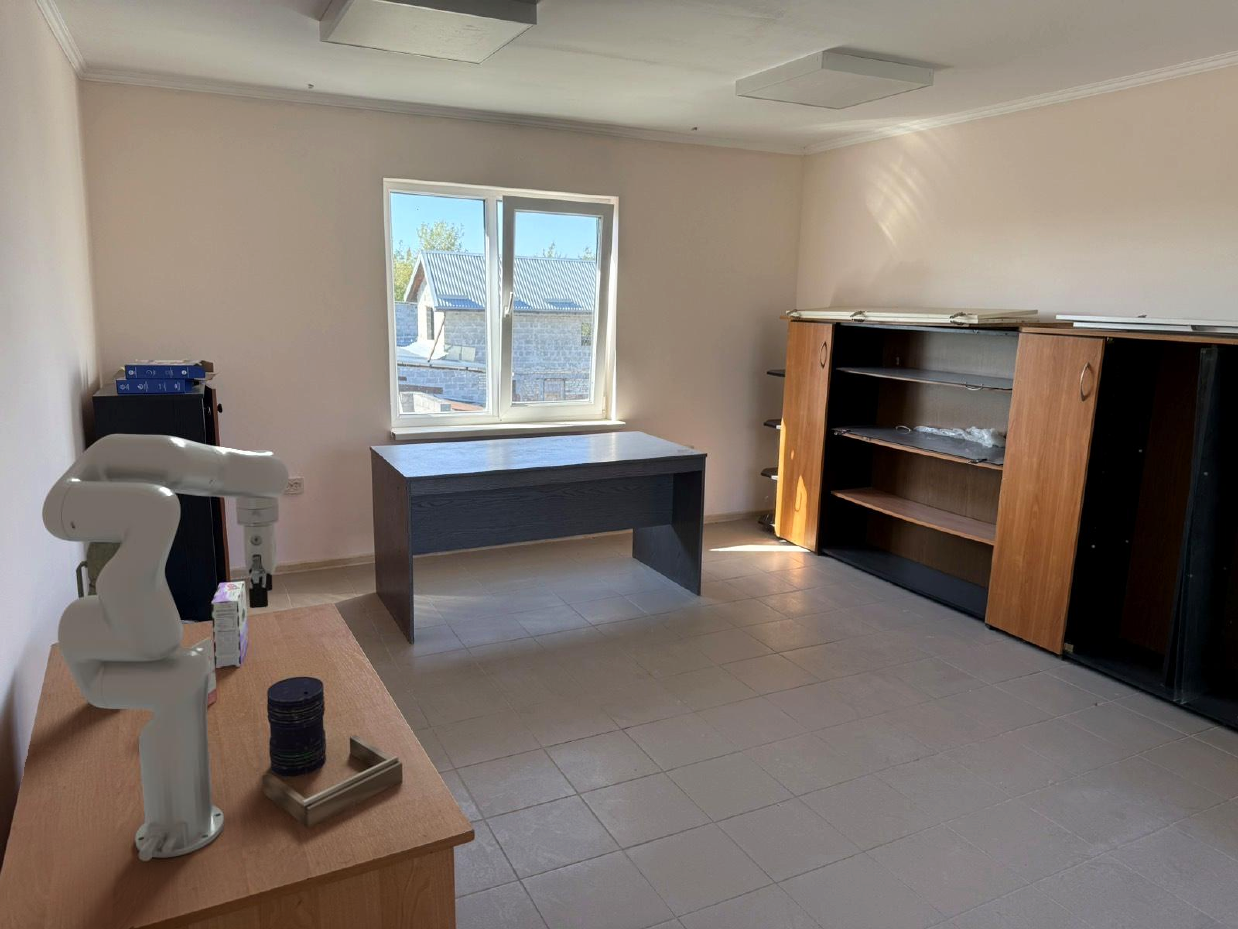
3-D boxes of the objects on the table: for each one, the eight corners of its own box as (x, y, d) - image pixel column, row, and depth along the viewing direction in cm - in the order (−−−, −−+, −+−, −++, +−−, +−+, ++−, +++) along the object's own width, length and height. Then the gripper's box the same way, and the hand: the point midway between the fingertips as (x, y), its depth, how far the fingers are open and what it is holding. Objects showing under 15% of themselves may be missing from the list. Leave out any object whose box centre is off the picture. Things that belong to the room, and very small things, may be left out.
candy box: (223, 645, 202) (219, 581, 199) (249, 643, 204) (245, 580, 200) (214, 669, 189) (209, 601, 186) (242, 666, 191) (238, 599, 188)
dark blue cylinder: (258, 766, 151) (254, 691, 148) (302, 743, 159) (299, 671, 156) (294, 784, 146) (290, 706, 143) (338, 759, 154) (335, 685, 152)
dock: (263, 793, 143) (262, 771, 142) (355, 751, 157) (354, 731, 156) (309, 828, 134) (308, 805, 133) (402, 780, 148) (402, 759, 147)
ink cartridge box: (197, 697, 176) (193, 633, 173) (217, 700, 175) (213, 635, 172) (168, 716, 167) (163, 649, 165) (189, 719, 166) (184, 652, 164)
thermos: (151, 700, 174) (138, 541, 167) (85, 710, 169) (69, 547, 162) (154, 682, 181) (142, 530, 175) (91, 691, 176) (76, 535, 170)
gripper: (275, 524, 151) (278, 612, 154) (282, 503, 168) (285, 583, 171) (230, 526, 149) (235, 615, 152) (242, 505, 165) (245, 586, 168)
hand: (261, 598), depth 161 cm, fingers open, 9 cm apart
